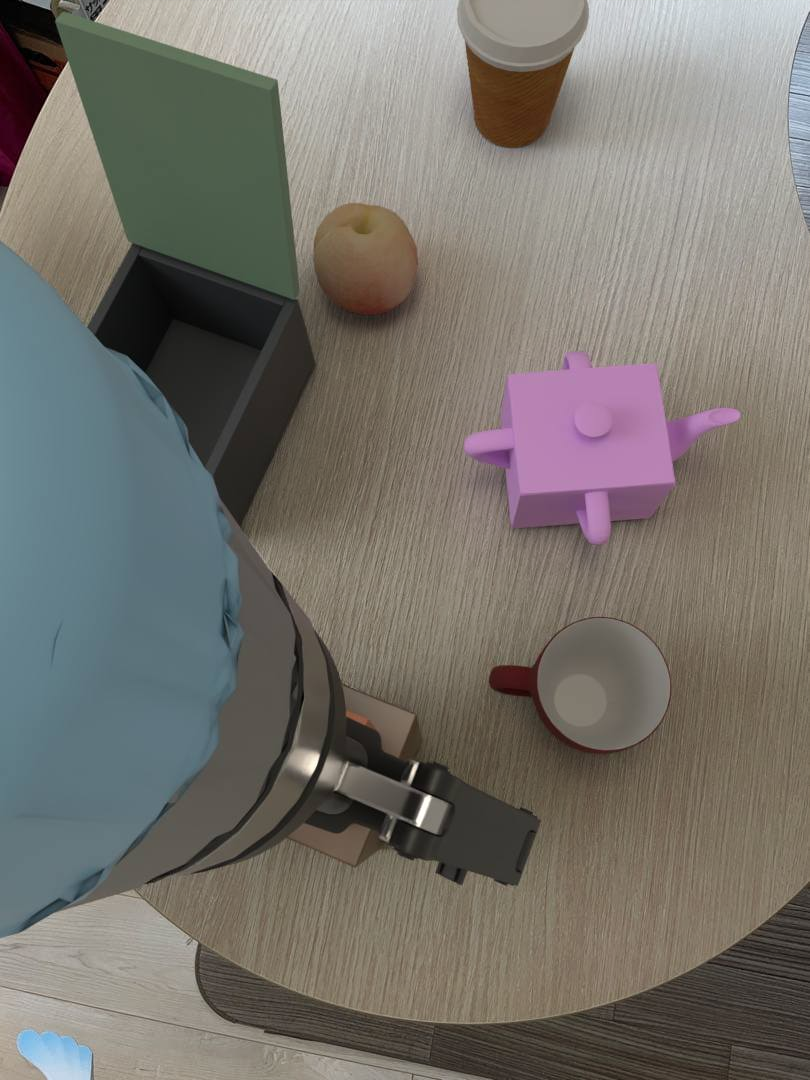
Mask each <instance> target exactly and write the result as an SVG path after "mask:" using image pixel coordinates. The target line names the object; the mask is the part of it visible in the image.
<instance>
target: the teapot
mask: <svg viewBox="0 0 810 1080" xmlns="http://www.w3.org/2000/svg"><path fill="white" fill-rule="evenodd" d="M740 418H741V413H740V411H739V410H738V409H735V408H730V407H718V408H712V409H709V410H704V411H701V412H698V413H695V414H691V415H688V416H684V417H680V418H676V419H672V420H667V418H666V412H665V406H664V399H663V393H662V385H661V379H660V374H659V367H658V363H657V362H653V363H640V364H639V363H638V364H624V365H623V364H621V365H610V366H594V367H592V362H591V358H590V356H589V353H587V352H585V351H583V350H573V351H569V352H567V353H566V354H565V355H564V358H563V363H562V369H559V370H557V369H555V370H545V371H534V372H523V373H511V374H506V380H505V386H504V393H503V398H502V405H501V411H500V416H499V422H500V428H495V429H489V430H482V431H478V432H474V433H472V434H470V435H468V436H467V437H466V438H465V440H464V441H463V451H464V452H465V454H466V455H467V456H468V457H469V458H471V459H472V460H475V461H477V462H479V463H482V464H486V465H491V466H495V467H499V468H504V471H505V481H506V489H507V498H508V509H509V519H510V527H511V529H522V528H524V529H525V528H536V527H550V526H562V525H576V524H579V525H580V528H581V530H582V533H583V536H584V537H585V539H586V540H587V541H588V542H589V544H591V545H594V546H603V545H605V544H606V543H607V542H608V541H609V540H610V538H611V531H612V526H611V525H612V524H611V523H612V522H615V521H628V520H629V521H630V520H642V519H650V518H652V516H653V515H654V514H655V512H656V511H657V510H658V508H659V507H660V506H661V504H663V501H664V500H665V499H666V497H668V495H669V494H670V492H671V491H672V489H673V488H674V487H675V486H676V483H677V482H676V478H675V471H674V463H673V462H675V461H677V460H678V459H680V458H681V457H682V456H683V455H684V454H686V453H687V451H688V450H689V449H690V448H691V447H692V446H693V445H694V444H695V443H696V442H697V441H698V440H699V439H700V438H701V437H702V436H703V435H706V434H707V433H708V432H711V431H712V430H715V429H717V428H721V427H723V426H724V427H725V426H728V425H731V424H733V423H735V422H737V421H738V420H739V419H740Z"/></svg>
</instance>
